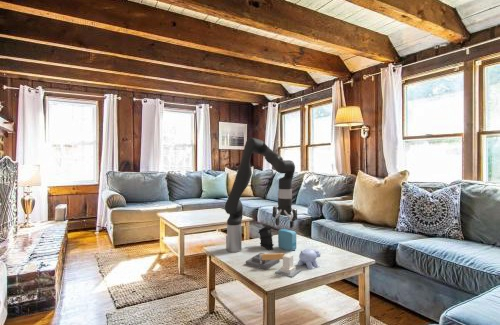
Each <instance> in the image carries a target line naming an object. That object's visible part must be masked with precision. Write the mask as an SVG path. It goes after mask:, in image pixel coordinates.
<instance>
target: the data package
mask: <svg viewBox="0 0 500 325" xmlns="http://www.w3.org/2000/svg"><path fill="white" fill-rule="evenodd" d="M277 236H278V237H277V246H278V247H279V248H280V249H281V250H282V249H283V250H286V251H288V252H289V251H290V252H292V251H294V250H297V232H296V231H294V230H290V229H287V228H281V229H279V230H278V231H277Z"/></svg>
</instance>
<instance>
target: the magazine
mask: <svg viewBox="0 0 500 325" xmlns="http://www.w3.org/2000/svg"><path fill="white" fill-rule="evenodd" d="M271 229H272V227H271V226H270V225H266V226H264V227H262V228H259V229H258V231H257V232H258V234H259V240H260V242H259V244H260V247H262V248H264V249H266V250H268V251H273V249H274V243H273V234H272V230H271Z"/></svg>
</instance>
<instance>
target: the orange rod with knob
mask: <svg viewBox="0 0 500 325" xmlns="http://www.w3.org/2000/svg"><path fill="white" fill-rule="evenodd" d="M258 254H259V253H258ZM284 255H285V253H284V252H283V253H282V252H281V253H280V252H279V253H277V252H276V253H264V254H259V256H260V260H277V259H280V260H283V256H284Z"/></svg>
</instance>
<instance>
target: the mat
mask: <svg viewBox="0 0 500 325" xmlns="http://www.w3.org/2000/svg"><path fill="white" fill-rule="evenodd" d="M300 272H302V269H298V268H296V270H295V271H294V272H293V273H291V274H288V273H285V272H281V271H280V268H278V269H277V270H276V271H275V272H274V273H275V274H278V275H282V276H284V277H288V278H294V277H295V276H296V275H298V274H299V273H300Z"/></svg>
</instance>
